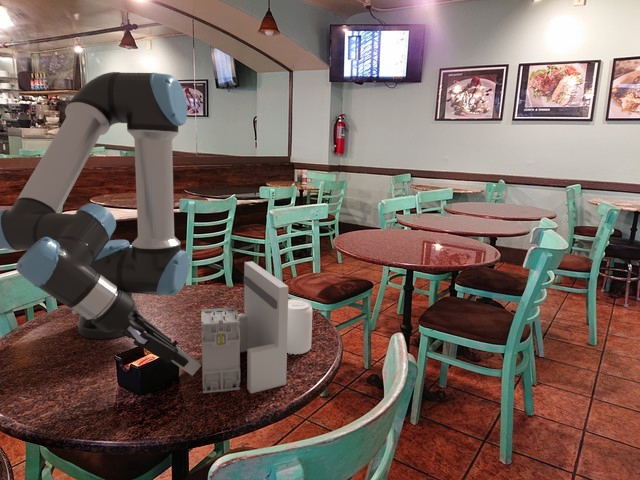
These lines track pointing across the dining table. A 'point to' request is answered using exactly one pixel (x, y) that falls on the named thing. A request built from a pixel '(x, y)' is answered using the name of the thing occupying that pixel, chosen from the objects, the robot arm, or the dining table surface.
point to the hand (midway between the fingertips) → (196, 369)
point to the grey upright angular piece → (264, 328)
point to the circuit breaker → (220, 349)
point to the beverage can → (299, 326)
